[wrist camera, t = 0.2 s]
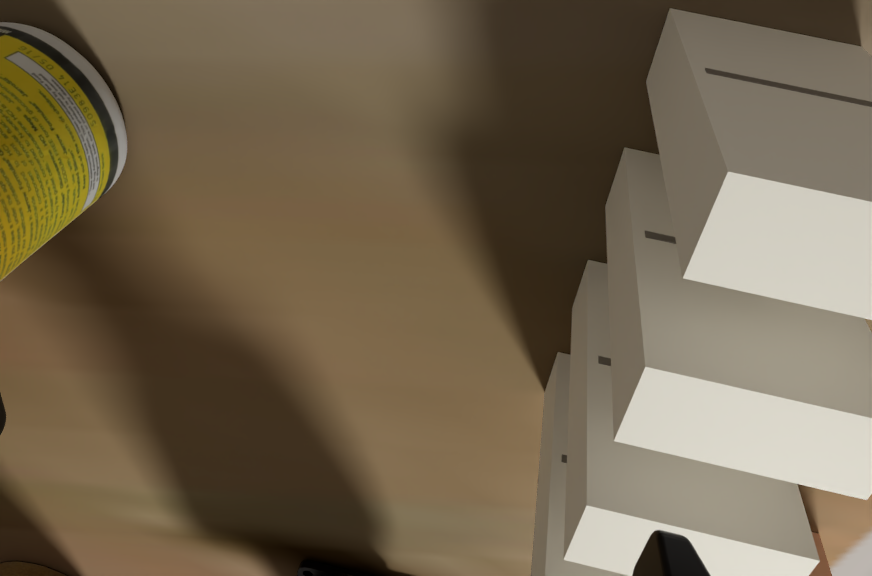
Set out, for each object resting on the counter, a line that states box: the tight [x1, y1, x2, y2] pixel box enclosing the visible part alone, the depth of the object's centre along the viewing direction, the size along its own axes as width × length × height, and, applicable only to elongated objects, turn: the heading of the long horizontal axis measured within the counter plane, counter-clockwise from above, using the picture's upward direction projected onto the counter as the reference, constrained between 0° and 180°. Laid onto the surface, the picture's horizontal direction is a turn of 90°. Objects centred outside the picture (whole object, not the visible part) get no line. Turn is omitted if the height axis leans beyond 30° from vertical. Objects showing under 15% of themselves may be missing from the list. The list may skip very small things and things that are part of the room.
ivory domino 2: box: [646, 8, 872, 320], centre depth 16 cm, size 2×5×10 cm, turn 81°
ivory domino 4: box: [563, 260, 820, 576], centre depth 20 cm, size 2×5×10 cm, turn 81°
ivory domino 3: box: [605, 147, 872, 500], centre depth 18 cm, size 2×5×10 cm, turn 81°
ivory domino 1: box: [531, 352, 628, 576], centre depth 23 cm, size 2×5×10 cm, turn 81°
